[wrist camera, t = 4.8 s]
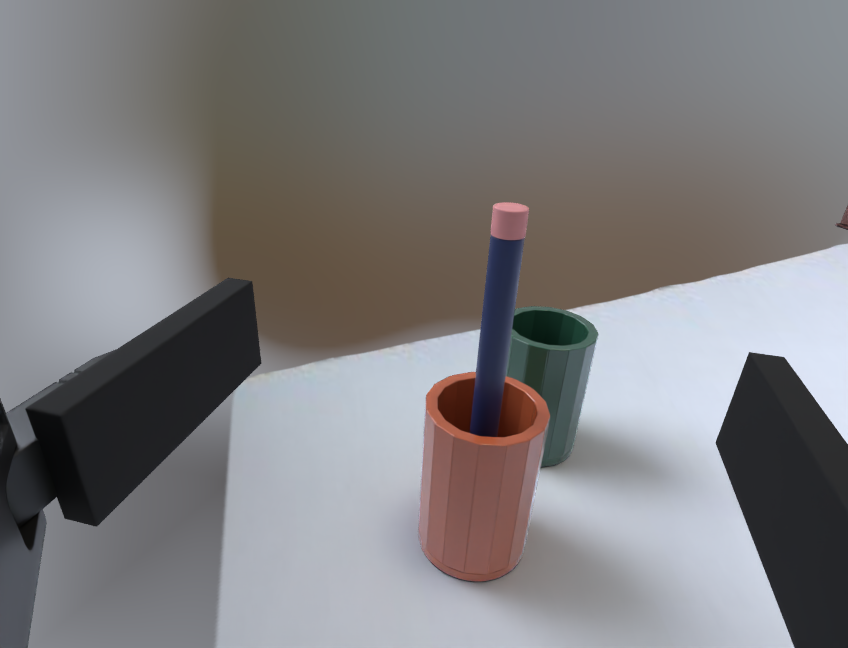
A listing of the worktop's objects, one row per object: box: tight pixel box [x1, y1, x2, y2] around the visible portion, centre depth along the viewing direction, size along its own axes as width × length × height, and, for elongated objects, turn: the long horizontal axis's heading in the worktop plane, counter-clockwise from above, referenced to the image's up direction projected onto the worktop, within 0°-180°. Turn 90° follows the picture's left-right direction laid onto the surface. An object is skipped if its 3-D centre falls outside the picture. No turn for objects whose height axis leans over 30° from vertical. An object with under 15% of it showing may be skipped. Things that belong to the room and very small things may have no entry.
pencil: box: [470, 202, 529, 437], centre depth 26 cm, size 1×1×18 cm
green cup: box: [506, 306, 598, 467], centre depth 36 cm, size 6×6×9 cm
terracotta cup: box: [418, 372, 550, 581], centre depth 28 cm, size 6×6×9 cm
